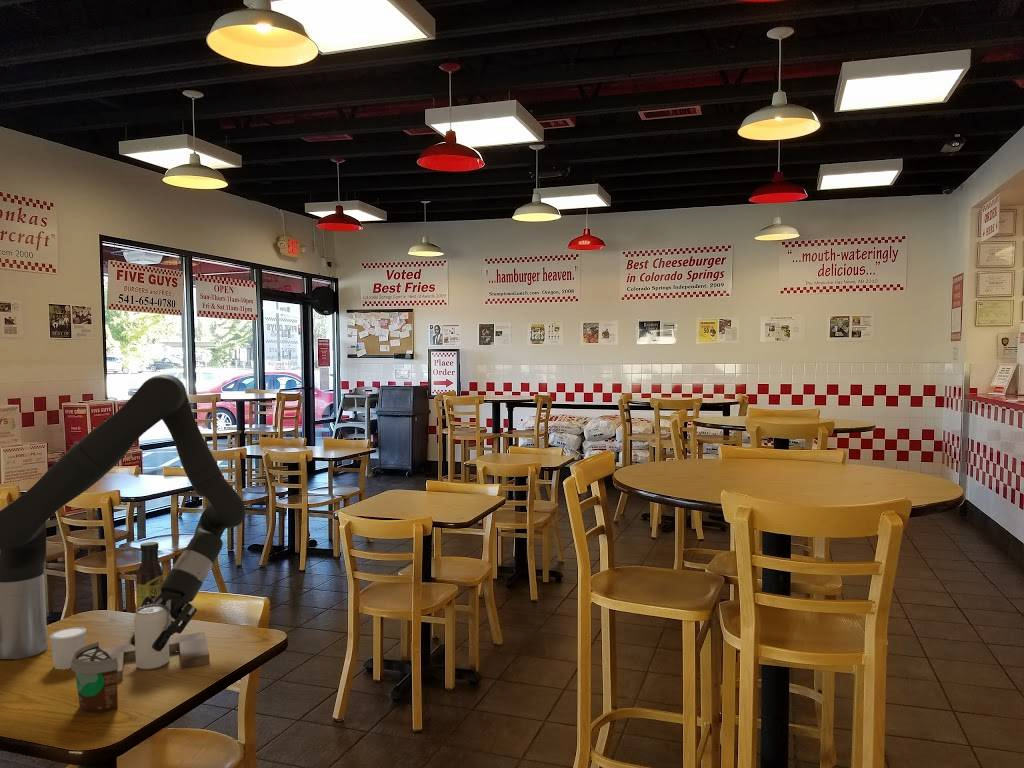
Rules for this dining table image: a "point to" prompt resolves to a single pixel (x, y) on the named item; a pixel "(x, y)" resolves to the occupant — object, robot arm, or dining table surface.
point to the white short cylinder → (66, 645)
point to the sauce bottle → (149, 573)
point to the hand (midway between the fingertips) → (145, 647)
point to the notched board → (188, 645)
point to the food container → (95, 679)
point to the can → (150, 636)
